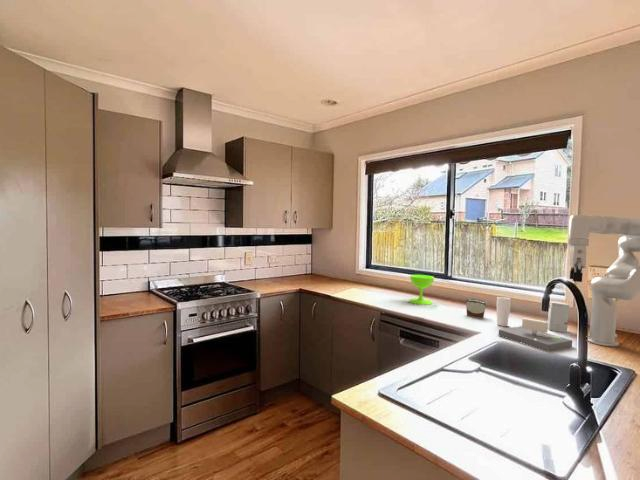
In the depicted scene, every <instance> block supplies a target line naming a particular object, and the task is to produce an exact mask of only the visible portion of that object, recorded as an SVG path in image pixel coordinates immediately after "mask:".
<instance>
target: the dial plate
mask: <svg viewBox="0 0 640 480" xmlns="http://www.w3.org/2000/svg"><path fill="white" fill-rule="evenodd" d="M538 333H540V334H545V335H551V336H556V337H560V339H558V338H553V337H547V336H542V335H538ZM497 334H498V336H499V335H500V336H499V337H502V336H504V337H503V338H505V337H507V338H506V339H508V338H509V340H511V339H512V340H511V341H514V340H515V342H517V341H518V342H517V343H520V342H522V343H521V344H523V343H525V344H524V345H526V344H528V345H527V346H529V345H531V346H530V347H534V348H537V349H539V348H540V349H539V350H542V349H543V350H542V351H545V350H546V352H548V351H549V352H553V351H558V350H563V349H567V348H572V347H573V339H570V338H569V339H568V338H565V337H562V336H559V335H555V334H551V333H548V332H547V333H545V332H540V331H537V335H534V334H532V330H529V329H524V328H522V325H521V326H515V327H514V326H513V327H507V328H500V329H499V328H498V333H497Z"/></svg>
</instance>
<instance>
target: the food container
mask: <svg viewBox="0 0 640 480" xmlns="http://www.w3.org/2000/svg"><path fill="white" fill-rule="evenodd" d="M464 302H465V304H466V307H465V308H466V316H468V317H472V318H478V319H484V318H485V312H486V311H485V310H486V307H487V306H488V303H487V301H486V300H484V299H480V298H473V297H472V298H468V297H467V298H465V300H464Z"/></svg>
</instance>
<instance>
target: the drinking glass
mask: <svg viewBox="0 0 640 480" xmlns="http://www.w3.org/2000/svg"><path fill="white" fill-rule="evenodd" d="M511 301H512V299H511V298H510V297H506V296H505V297H504V296H497V297H496V324H497V326H499V327H508V324H509V318H510V312H511V306H512V305H511Z"/></svg>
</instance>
